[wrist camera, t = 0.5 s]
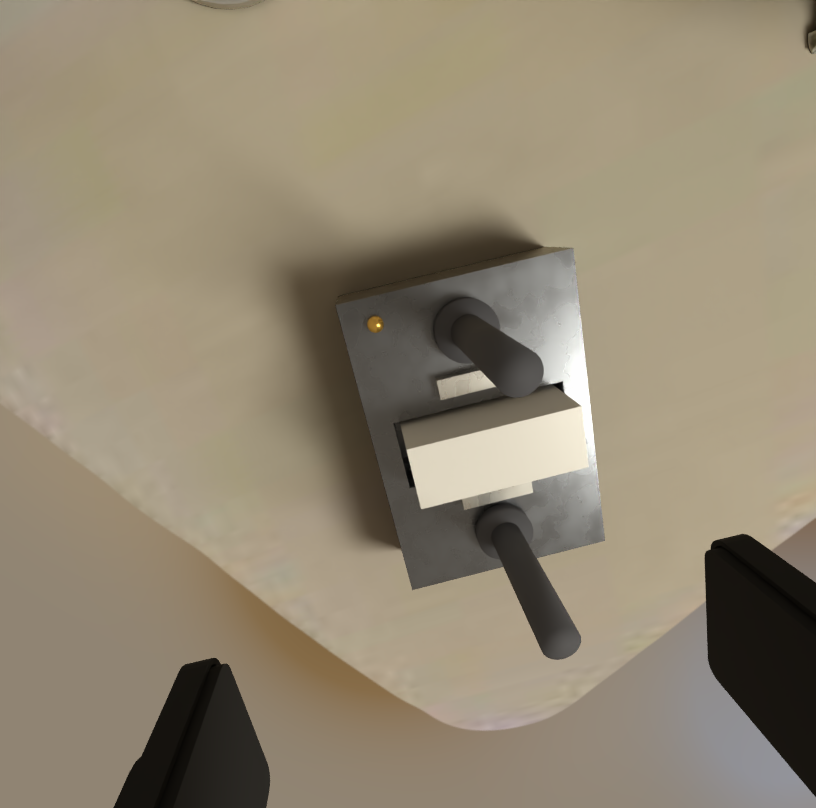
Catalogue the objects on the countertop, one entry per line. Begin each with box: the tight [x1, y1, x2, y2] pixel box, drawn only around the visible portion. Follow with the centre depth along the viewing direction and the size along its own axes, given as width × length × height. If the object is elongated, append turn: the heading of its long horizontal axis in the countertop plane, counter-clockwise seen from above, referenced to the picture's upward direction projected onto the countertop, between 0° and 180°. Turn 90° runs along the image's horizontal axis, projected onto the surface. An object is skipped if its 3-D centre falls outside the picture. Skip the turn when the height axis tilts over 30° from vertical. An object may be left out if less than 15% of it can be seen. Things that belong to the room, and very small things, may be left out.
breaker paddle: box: [400, 384, 589, 509], centre depth 40 cm, size 5×13×7 cm, turn 103°
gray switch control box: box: [336, 247, 605, 590], centre depth 43 cm, size 26×18×7 cm
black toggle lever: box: [475, 504, 581, 660], centre depth 37 cm, size 5×5×13 cm
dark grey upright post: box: [434, 297, 544, 398], centre depth 32 cm, size 5×5×13 cm
